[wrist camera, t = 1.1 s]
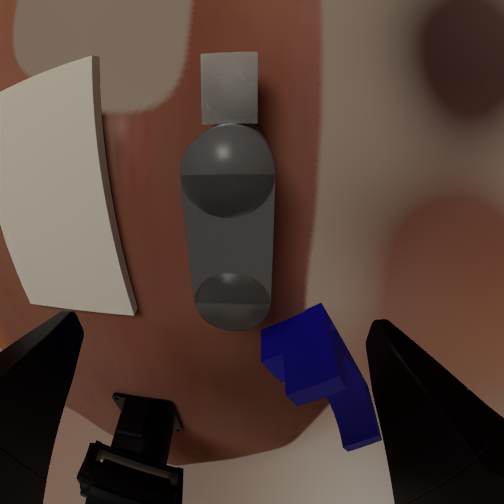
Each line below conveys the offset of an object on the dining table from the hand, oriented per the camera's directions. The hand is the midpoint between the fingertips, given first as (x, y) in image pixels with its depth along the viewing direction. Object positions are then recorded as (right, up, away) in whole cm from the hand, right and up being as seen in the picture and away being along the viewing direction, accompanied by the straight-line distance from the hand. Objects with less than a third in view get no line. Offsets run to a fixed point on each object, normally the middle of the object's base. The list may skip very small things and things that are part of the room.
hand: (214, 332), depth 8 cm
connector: (0, +6, +7) cm, 9 cm away
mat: (-12, +5, +7) cm, 15 cm away
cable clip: (+7, -6, +14) cm, 17 cm away
